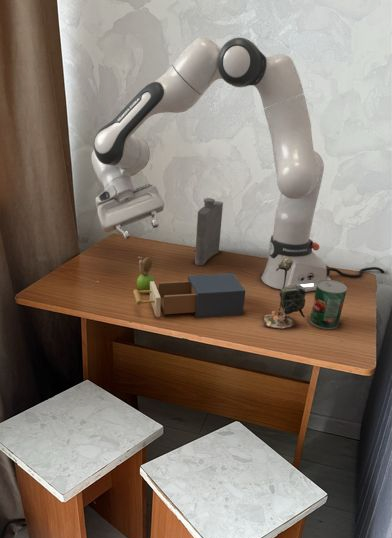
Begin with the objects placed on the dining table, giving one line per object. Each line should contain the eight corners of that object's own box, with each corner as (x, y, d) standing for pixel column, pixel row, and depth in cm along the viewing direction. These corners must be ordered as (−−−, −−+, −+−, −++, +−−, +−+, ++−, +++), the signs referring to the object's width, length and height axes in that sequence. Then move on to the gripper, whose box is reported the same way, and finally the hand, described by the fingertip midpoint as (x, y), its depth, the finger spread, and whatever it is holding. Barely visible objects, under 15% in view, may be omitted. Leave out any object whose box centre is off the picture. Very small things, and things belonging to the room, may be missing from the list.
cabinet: (196, 317, 135) (197, 293, 131) (186, 299, 144) (188, 275, 140) (242, 314, 138) (245, 290, 134) (230, 296, 148) (233, 273, 144)
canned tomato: (344, 325, 136) (353, 288, 131) (324, 331, 133) (332, 294, 127) (323, 312, 142) (331, 277, 136) (303, 319, 138) (310, 282, 132)
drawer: (137, 318, 132) (137, 298, 129) (132, 300, 140) (132, 282, 137) (200, 313, 136) (201, 295, 132) (192, 297, 144) (193, 279, 141)
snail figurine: (131, 293, 145) (131, 255, 139) (141, 285, 150) (141, 247, 144) (148, 297, 144) (148, 259, 137) (158, 289, 149) (158, 251, 142)
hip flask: (201, 266, 165) (205, 206, 155) (190, 263, 167) (194, 204, 156) (220, 251, 178) (225, 194, 167) (209, 248, 179) (214, 192, 168)
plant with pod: (302, 333, 131) (317, 263, 120) (260, 327, 133) (270, 257, 122) (303, 319, 138) (317, 251, 127) (263, 313, 139) (273, 245, 129)
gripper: (153, 187, 155) (172, 224, 153) (92, 211, 151) (111, 249, 149) (153, 176, 149) (173, 214, 147) (90, 200, 145) (110, 240, 143)
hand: (141, 232), depth 148 cm, fingers open, 8 cm apart
